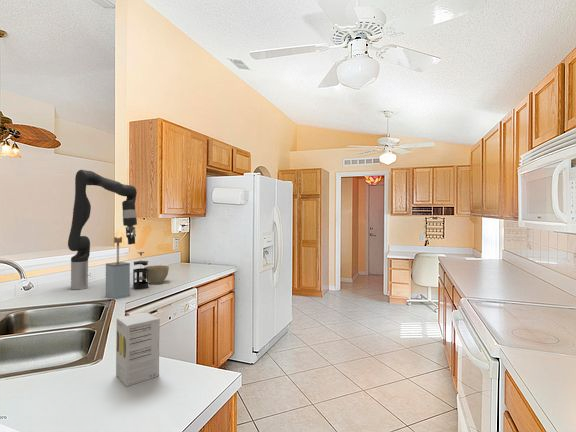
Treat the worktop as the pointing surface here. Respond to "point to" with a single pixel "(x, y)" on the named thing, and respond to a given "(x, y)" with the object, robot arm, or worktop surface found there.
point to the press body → (117, 280)
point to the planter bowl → (157, 274)
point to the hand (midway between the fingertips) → (131, 244)
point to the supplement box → (137, 348)
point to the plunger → (117, 240)
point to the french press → (143, 283)
